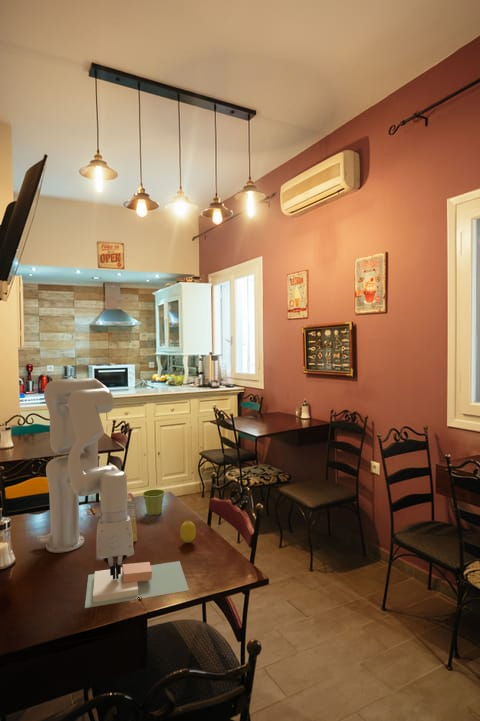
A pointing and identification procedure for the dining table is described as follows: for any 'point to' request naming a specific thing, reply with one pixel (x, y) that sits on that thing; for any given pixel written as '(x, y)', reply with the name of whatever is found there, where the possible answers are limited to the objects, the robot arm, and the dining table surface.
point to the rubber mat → (148, 584)
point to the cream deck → (112, 586)
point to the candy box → (132, 514)
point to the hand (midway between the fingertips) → (115, 576)
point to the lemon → (188, 531)
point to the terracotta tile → (136, 572)
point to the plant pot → (153, 501)
